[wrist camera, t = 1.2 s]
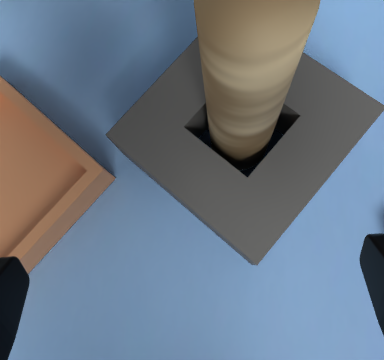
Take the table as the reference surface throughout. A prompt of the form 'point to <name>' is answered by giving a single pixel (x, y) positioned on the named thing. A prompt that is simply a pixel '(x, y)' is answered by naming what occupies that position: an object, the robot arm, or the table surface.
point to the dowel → (249, 69)
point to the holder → (226, 173)
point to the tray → (40, 180)
